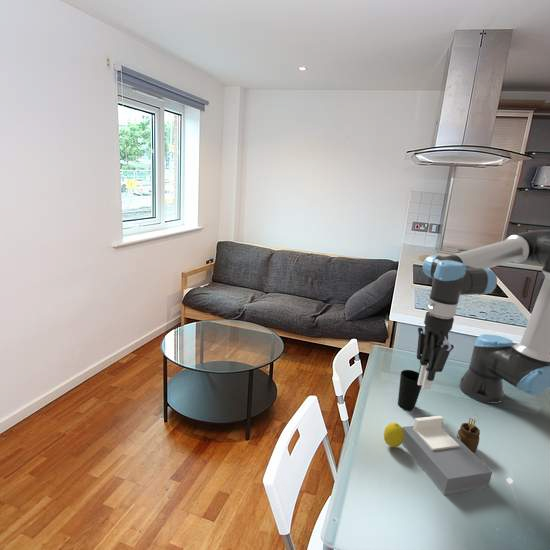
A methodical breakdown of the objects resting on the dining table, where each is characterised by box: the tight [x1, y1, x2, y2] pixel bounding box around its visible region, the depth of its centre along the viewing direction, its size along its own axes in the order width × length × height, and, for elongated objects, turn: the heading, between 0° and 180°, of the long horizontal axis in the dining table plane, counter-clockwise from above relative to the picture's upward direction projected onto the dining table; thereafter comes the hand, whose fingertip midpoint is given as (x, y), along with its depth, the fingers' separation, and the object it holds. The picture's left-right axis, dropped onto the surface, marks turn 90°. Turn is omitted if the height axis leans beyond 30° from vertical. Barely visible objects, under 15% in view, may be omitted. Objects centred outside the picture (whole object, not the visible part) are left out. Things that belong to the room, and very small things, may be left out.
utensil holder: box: [456, 412, 481, 454], centre depth 114 cm, size 6×6×12 cm
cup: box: [397, 369, 422, 412], centre depth 133 cm, size 8×8×12 cm
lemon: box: [383, 422, 404, 448], centre depth 112 cm, size 6×6×8 cm
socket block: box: [401, 422, 493, 496], centre depth 108 cm, size 14×20×5 cm
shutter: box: [412, 415, 460, 451], centre depth 110 cm, size 9×9×4 cm
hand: (423, 386), depth 116 cm, fingers closed
